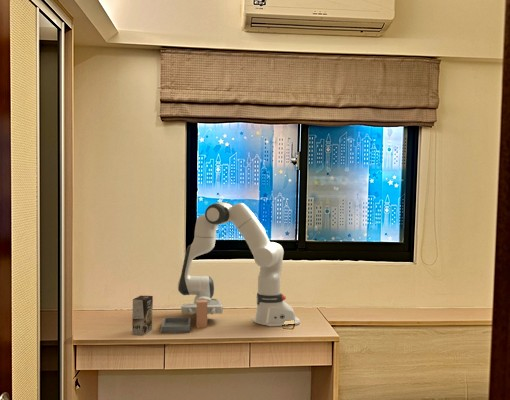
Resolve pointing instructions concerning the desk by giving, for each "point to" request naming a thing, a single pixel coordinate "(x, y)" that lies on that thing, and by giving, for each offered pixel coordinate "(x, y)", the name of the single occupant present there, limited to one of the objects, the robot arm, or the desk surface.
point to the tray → (176, 325)
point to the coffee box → (142, 315)
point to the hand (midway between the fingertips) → (202, 312)
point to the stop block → (201, 313)
